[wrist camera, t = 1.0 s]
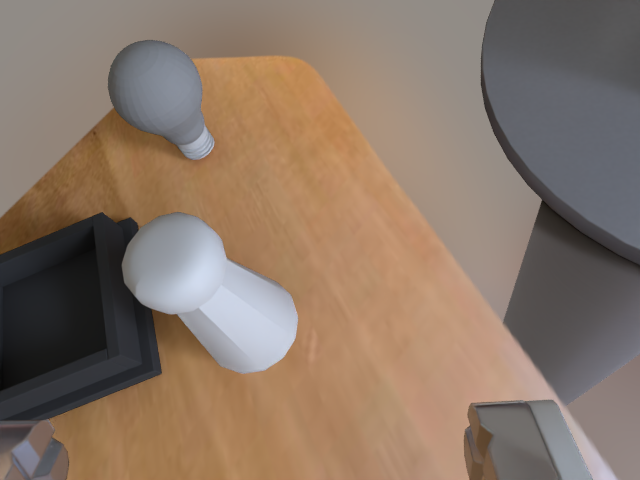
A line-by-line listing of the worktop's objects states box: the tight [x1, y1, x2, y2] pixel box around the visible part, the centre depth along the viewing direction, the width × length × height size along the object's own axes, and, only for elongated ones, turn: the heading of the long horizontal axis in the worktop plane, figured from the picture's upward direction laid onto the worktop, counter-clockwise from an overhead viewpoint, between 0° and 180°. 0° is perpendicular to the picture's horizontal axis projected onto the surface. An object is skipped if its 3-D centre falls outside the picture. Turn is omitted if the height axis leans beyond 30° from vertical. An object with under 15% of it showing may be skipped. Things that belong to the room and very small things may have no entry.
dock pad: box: [0, 212, 162, 421], centre depth 34 cm, size 12×12×4 cm
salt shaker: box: [122, 212, 298, 374], centre depth 26 cm, size 6×6×13 cm
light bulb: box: [108, 40, 214, 160], centre depth 36 cm, size 6×6×10 cm
